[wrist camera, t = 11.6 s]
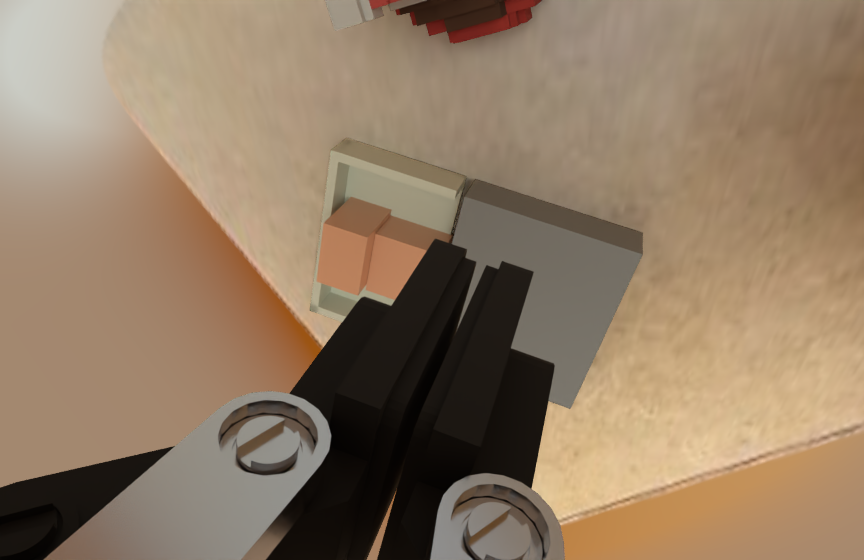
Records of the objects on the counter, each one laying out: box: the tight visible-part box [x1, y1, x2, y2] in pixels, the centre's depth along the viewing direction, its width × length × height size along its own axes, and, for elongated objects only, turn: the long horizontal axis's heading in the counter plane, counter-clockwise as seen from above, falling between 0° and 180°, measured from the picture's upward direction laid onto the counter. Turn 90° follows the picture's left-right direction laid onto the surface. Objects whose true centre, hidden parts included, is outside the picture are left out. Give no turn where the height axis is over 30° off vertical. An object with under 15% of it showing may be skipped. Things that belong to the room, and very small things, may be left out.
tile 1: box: [316, 197, 392, 296], centre depth 42 cm, size 4×4×3 cm
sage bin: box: [310, 138, 467, 322], centre depth 43 cm, size 8×13×3 cm, turn 166°
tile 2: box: [366, 216, 453, 300], centre depth 43 cm, size 4×4×3 cm
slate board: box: [452, 179, 643, 409], centre depth 42 cm, size 11×13×3 cm
